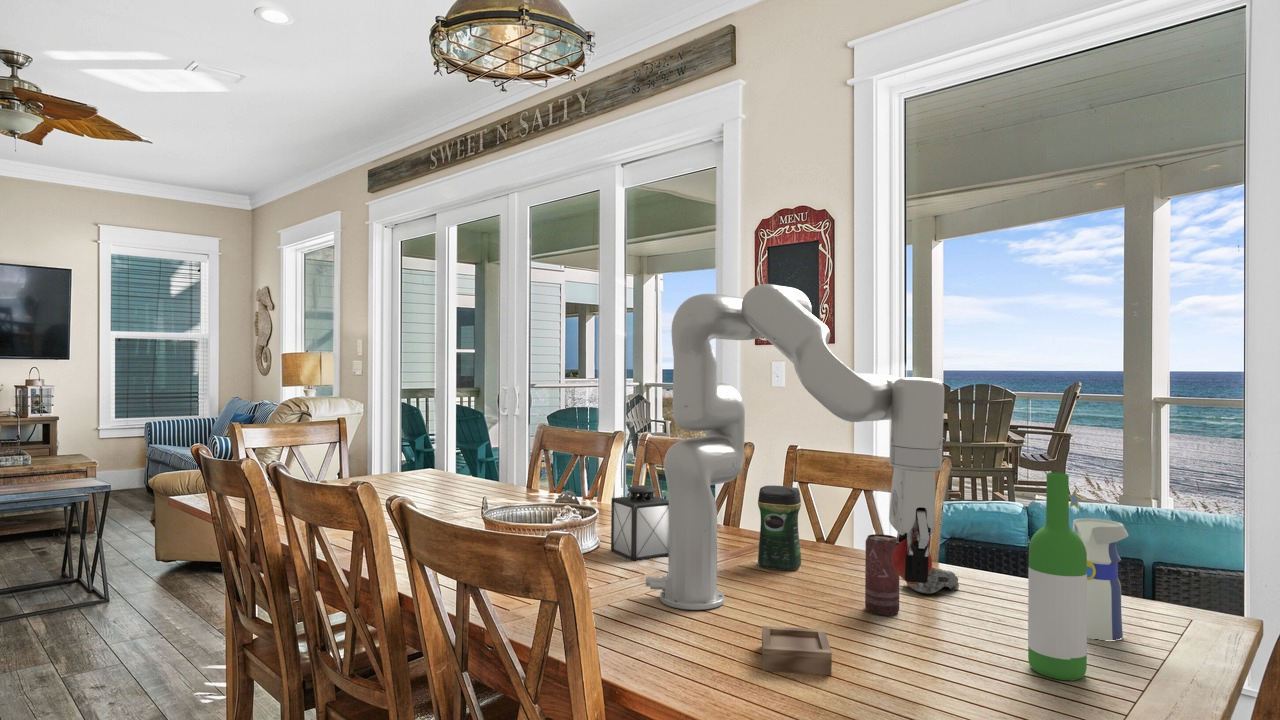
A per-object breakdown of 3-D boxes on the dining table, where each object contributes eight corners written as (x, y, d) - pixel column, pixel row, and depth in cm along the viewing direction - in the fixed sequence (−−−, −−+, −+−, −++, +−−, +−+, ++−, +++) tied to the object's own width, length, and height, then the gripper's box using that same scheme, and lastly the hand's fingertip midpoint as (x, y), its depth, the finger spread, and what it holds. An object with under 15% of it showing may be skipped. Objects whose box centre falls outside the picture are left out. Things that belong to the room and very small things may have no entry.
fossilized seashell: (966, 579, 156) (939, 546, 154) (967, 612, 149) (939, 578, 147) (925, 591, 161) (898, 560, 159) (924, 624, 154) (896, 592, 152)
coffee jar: (804, 565, 172) (805, 485, 173) (794, 573, 165) (795, 490, 166) (764, 560, 177) (765, 482, 177) (753, 567, 170) (754, 486, 170)
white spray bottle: (1108, 645, 123) (1109, 495, 124) (1059, 629, 131) (1059, 487, 131) (1137, 638, 127) (1137, 492, 128) (1087, 622, 135) (1087, 484, 135)
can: (902, 617, 136) (903, 541, 137) (866, 615, 138) (867, 539, 138) (898, 607, 142) (898, 534, 143) (863, 605, 144) (864, 532, 144)
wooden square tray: (763, 670, 112) (763, 648, 112) (761, 646, 121) (762, 625, 122) (831, 675, 110) (831, 652, 110) (824, 650, 120) (824, 629, 120)
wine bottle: (1099, 680, 109) (1100, 476, 110) (1054, 684, 108) (1054, 477, 108) (1059, 660, 117) (1060, 469, 117) (1016, 663, 115) (1017, 470, 116)
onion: (884, 578, 117) (886, 527, 117) (920, 578, 117) (922, 528, 117) (900, 590, 111) (902, 537, 111) (937, 590, 111) (939, 537, 111)
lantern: (610, 551, 184) (611, 438, 184) (649, 546, 190) (649, 436, 190) (632, 562, 174) (633, 442, 174) (672, 556, 180) (673, 440, 180)
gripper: (880, 449, 123) (875, 558, 123) (901, 464, 106) (896, 590, 106) (927, 452, 122) (923, 561, 122) (956, 467, 105) (951, 595, 105)
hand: (911, 574), depth 114 cm, fingers closed on onion, 5 cm apart
